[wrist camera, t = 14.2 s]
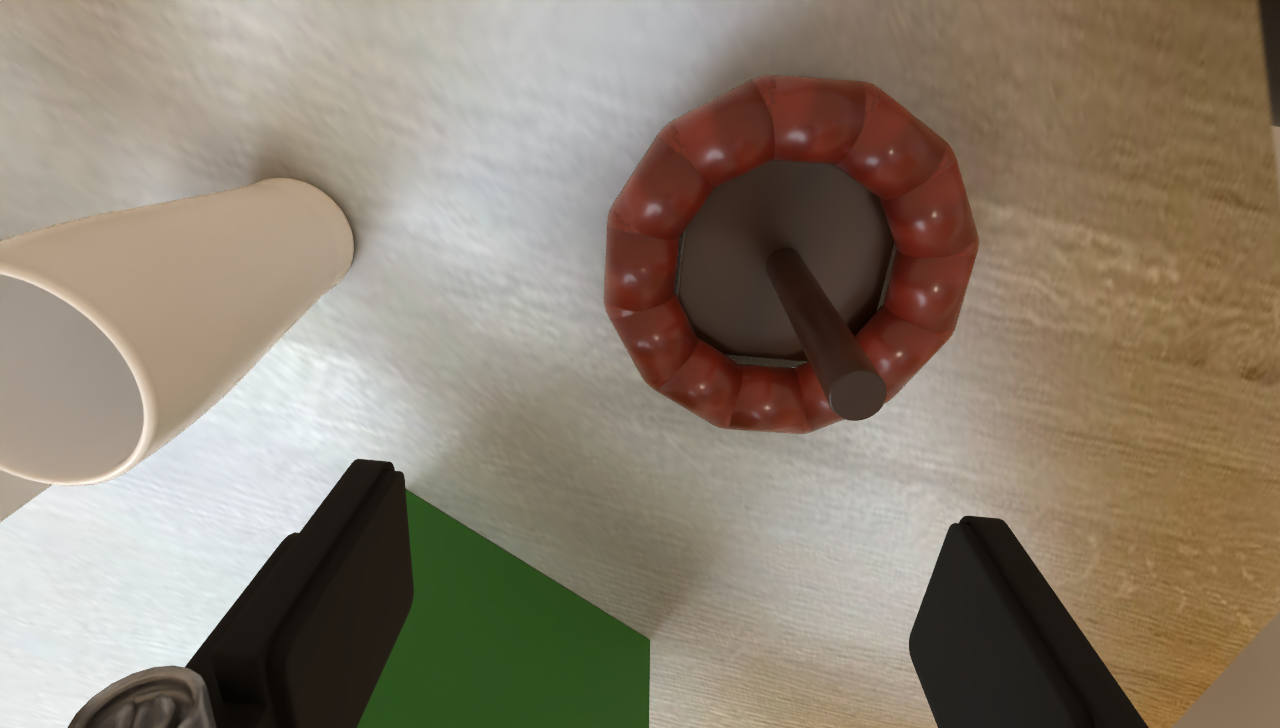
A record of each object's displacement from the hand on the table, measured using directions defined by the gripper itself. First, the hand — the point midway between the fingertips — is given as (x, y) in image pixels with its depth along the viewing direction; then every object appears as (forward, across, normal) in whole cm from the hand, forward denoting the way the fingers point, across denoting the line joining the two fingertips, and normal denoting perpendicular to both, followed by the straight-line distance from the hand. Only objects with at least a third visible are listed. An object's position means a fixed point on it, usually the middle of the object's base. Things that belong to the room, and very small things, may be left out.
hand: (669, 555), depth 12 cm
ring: (+18, -5, 0) cm, 19 cm away
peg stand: (+21, -5, 0) cm, 22 cm away
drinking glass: (+21, +17, +2) cm, 27 cm away
